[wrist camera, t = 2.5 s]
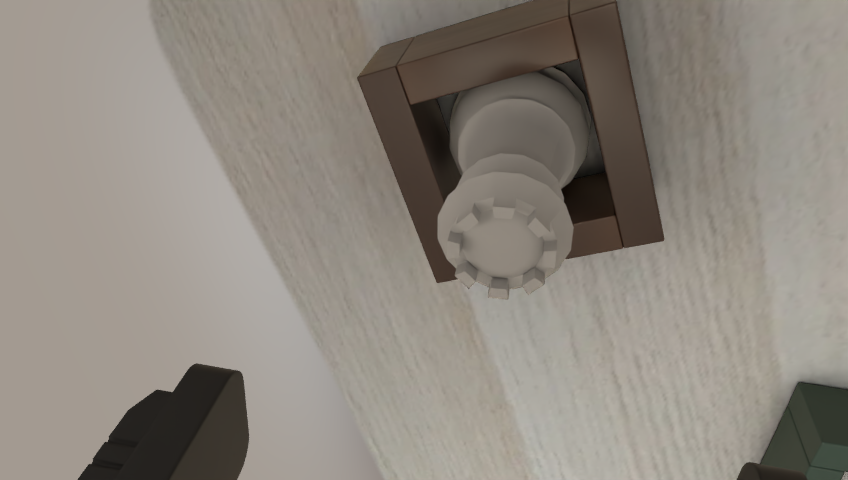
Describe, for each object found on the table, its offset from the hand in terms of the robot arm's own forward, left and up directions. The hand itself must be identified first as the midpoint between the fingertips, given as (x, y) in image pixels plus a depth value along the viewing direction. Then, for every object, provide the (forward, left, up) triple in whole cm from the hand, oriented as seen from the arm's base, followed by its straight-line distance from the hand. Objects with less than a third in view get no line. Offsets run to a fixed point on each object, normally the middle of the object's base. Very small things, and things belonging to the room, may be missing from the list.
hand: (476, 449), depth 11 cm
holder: (0, 0, -14) cm, 14 cm away
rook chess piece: (0, 0, -14) cm, 14 cm away
